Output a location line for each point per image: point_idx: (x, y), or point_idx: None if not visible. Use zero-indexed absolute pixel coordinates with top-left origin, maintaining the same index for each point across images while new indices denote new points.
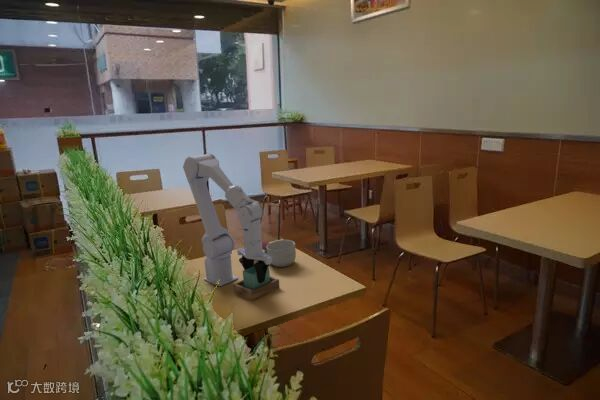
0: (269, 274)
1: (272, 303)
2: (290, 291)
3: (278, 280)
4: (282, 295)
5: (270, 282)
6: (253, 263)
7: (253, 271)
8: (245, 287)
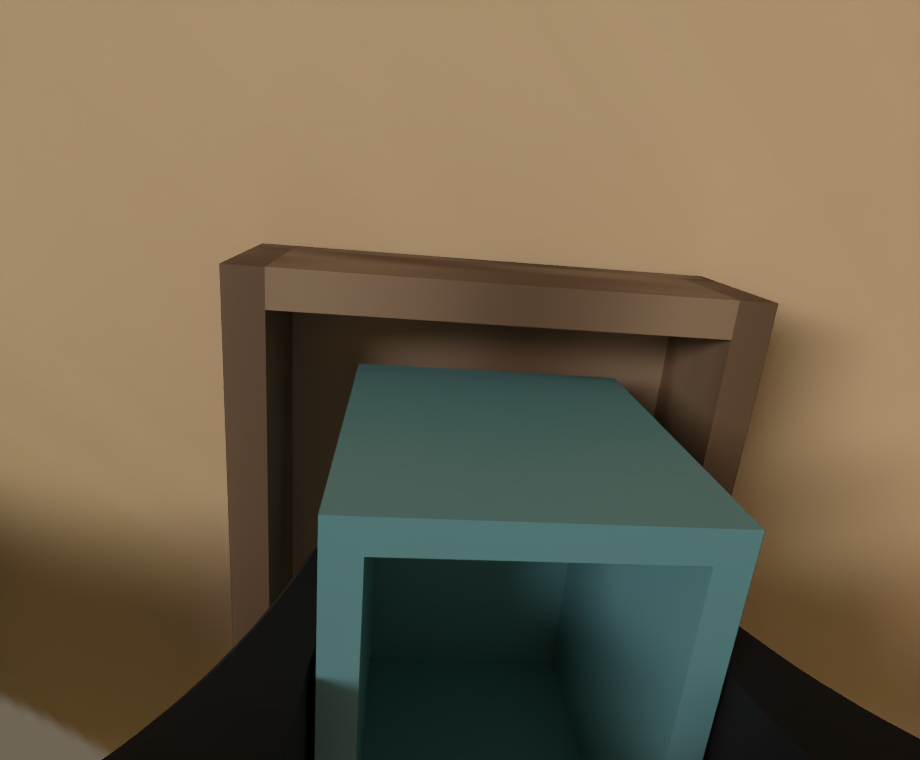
0: (678, 446)
1: (842, 613)
2: (903, 275)
3: (765, 310)
4: (855, 420)
5: (709, 472)
6: (291, 743)
7: (364, 640)
8: (298, 565)
